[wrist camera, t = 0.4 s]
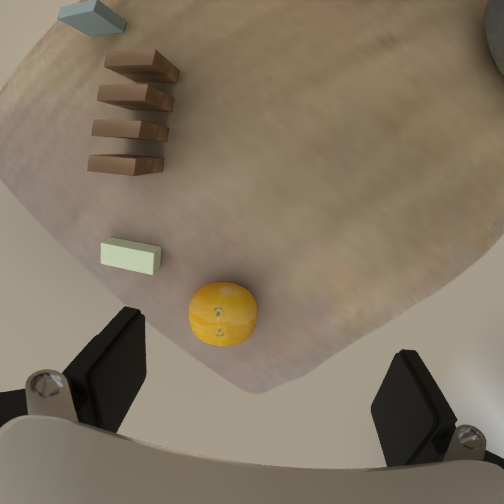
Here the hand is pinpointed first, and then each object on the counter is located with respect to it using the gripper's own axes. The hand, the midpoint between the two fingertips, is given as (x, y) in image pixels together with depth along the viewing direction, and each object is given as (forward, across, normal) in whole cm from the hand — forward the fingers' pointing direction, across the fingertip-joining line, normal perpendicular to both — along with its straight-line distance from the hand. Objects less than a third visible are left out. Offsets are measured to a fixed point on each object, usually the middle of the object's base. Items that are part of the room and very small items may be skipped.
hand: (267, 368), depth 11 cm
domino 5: (+30, +18, -4) cm, 35 cm away
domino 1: (+30, +28, -25) cm, 48 cm away
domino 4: (+30, +18, -8) cm, 36 cm away
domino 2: (+30, +18, -16) cm, 39 cm away
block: (+30, +18, +8) cm, 36 cm away
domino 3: (+30, +18, -12) cm, 37 cm away
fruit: (+30, +4, +13) cm, 33 cm away
